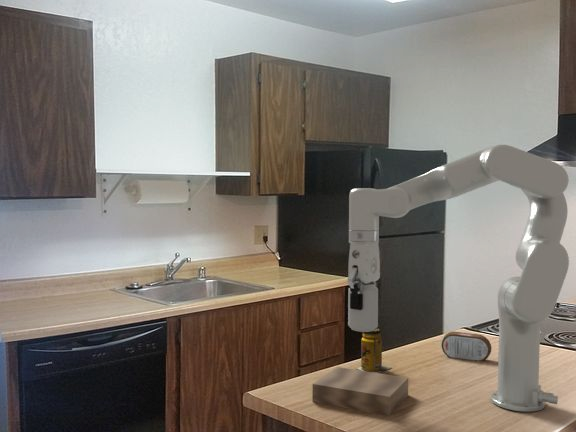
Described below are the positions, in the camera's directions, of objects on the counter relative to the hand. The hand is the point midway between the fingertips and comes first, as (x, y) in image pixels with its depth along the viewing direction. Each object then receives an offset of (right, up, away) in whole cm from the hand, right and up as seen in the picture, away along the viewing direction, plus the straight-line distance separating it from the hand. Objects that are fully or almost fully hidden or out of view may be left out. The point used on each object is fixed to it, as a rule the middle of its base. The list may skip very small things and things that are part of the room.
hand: (363, 306), depth 152 cm
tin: (+37, -23, +36) cm, 56 cm away
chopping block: (0, -24, +1) cm, 24 cm away
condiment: (+6, -23, +26) cm, 35 cm away
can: (0, -6, 0) cm, 6 cm away
